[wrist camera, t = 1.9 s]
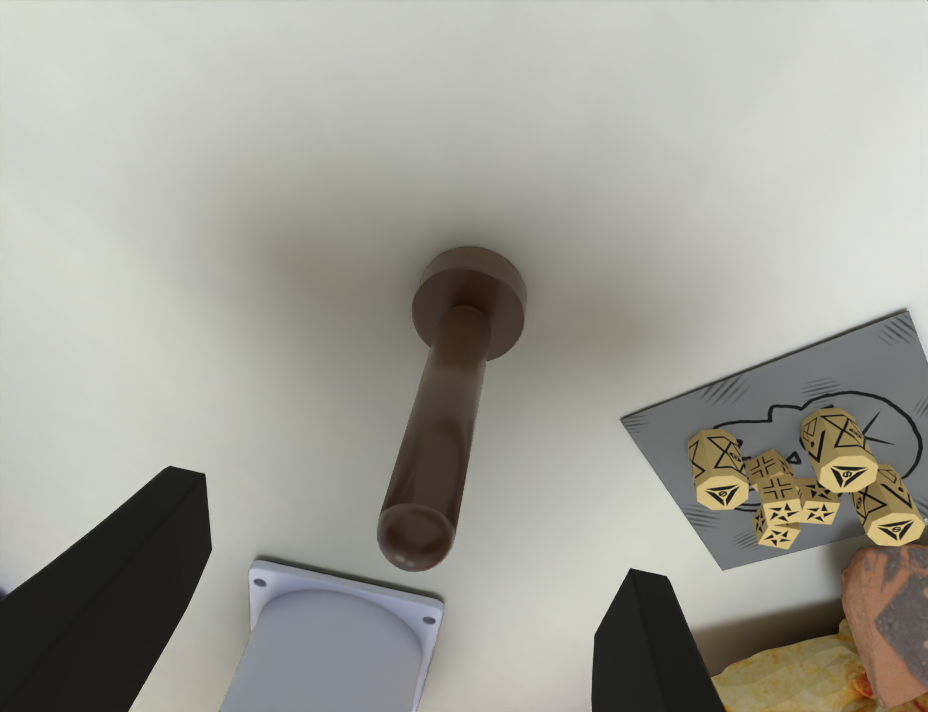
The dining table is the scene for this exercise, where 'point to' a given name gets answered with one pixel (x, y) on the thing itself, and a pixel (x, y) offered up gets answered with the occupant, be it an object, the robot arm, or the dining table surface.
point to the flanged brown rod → (447, 399)
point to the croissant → (805, 679)
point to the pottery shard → (890, 618)
